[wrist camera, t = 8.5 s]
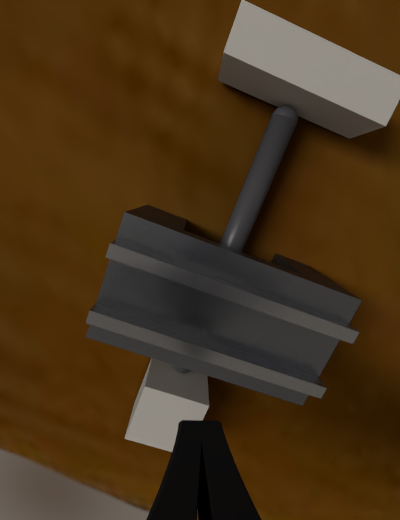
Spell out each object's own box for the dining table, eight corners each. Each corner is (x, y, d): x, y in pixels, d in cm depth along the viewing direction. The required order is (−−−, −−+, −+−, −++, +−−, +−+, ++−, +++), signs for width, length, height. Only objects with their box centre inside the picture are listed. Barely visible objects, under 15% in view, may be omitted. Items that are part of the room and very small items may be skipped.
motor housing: (310, 266, 17) (373, 308, 11) (271, 344, 19) (309, 419, 13) (147, 204, 16) (119, 213, 10) (119, 292, 18) (78, 347, 11)
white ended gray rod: (366, 101, 15) (409, 79, 12) (206, 436, 20) (208, 478, 17) (232, 39, 14) (241, -1, 11) (103, 406, 19) (87, 444, 16)
